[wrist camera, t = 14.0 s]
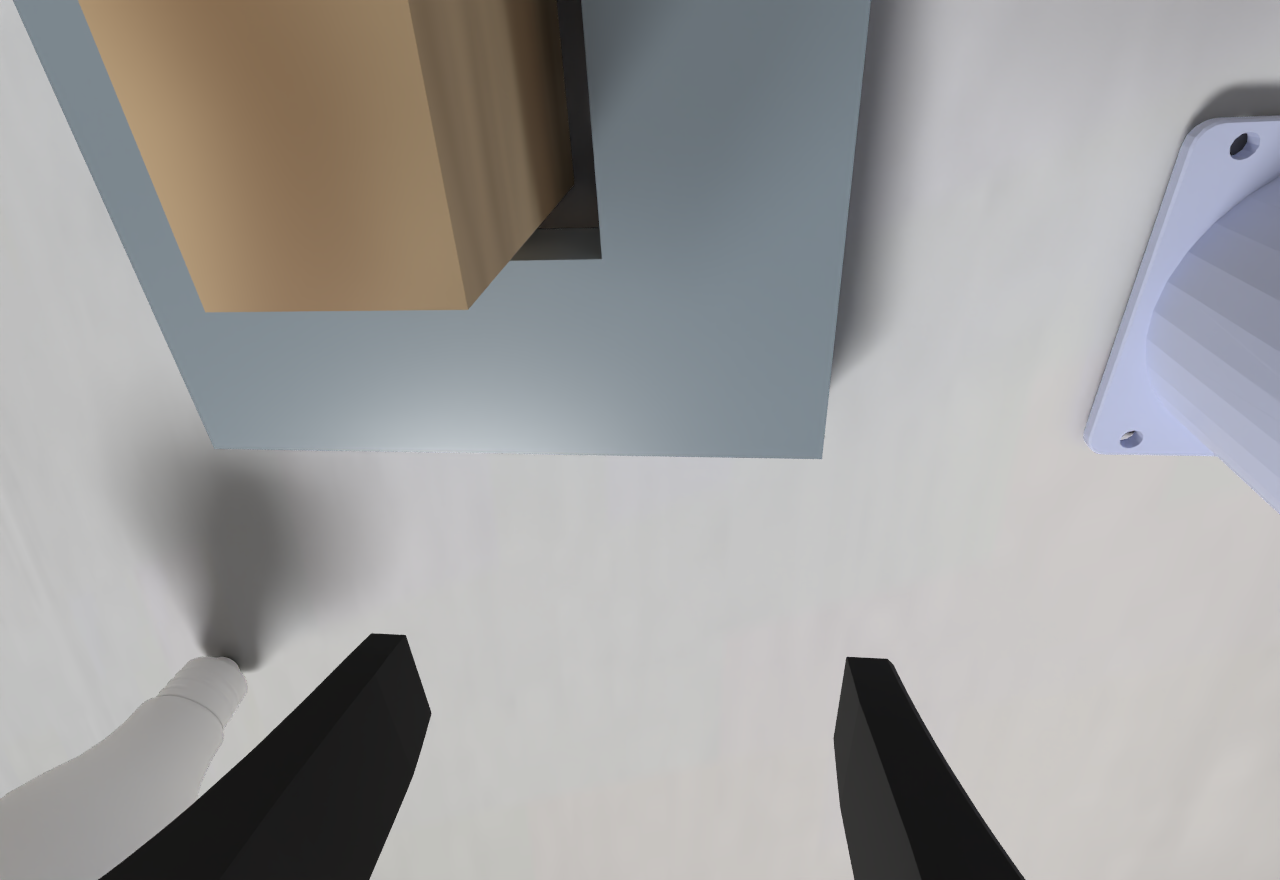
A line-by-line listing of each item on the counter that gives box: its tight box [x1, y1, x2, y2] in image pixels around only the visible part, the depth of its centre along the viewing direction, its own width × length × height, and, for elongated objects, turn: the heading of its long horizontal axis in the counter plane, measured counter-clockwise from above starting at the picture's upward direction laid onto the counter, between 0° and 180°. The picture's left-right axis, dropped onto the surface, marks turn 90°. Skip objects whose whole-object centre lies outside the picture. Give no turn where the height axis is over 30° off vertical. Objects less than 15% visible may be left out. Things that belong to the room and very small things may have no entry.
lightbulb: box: [0, 656, 248, 880], centre depth 23 cm, size 6×6×11 cm
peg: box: [78, 0, 574, 312], centre depth 12 cm, size 4×4×8 cm
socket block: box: [13, 0, 871, 459], centre depth 14 cm, size 16×16×2 cm
